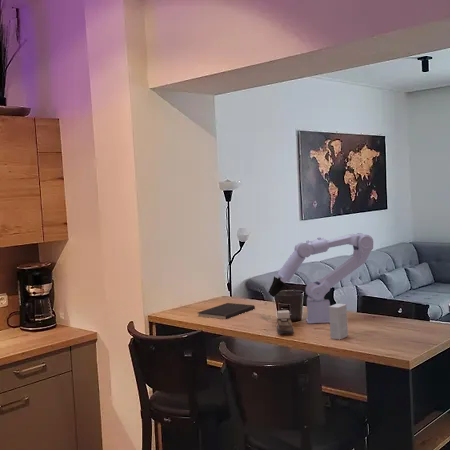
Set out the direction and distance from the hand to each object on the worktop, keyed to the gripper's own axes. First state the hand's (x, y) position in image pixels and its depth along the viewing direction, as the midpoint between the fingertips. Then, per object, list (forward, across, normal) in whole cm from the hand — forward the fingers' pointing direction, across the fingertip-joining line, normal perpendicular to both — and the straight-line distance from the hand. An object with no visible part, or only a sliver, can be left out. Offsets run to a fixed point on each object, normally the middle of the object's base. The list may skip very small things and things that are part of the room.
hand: (270, 294), depth 239 cm
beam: (+8, +11, +12) cm, 18 cm away
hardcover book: (+20, -29, -8) cm, 36 cm away
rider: (+5, +7, +9) cm, 12 cm away
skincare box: (-3, +24, +27) cm, 36 cm away
